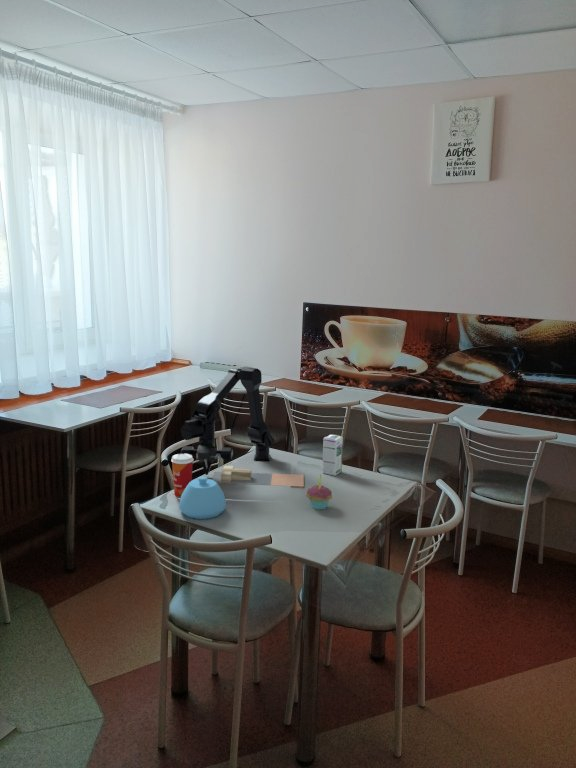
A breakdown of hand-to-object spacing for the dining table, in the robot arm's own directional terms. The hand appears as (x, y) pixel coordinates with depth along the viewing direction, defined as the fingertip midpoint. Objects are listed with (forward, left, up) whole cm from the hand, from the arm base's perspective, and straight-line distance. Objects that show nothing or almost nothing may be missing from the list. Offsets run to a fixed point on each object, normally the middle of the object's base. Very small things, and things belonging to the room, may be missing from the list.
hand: (206, 474), depth 234 cm
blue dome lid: (+30, +3, -2) cm, 30 cm away
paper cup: (+17, -6, -2) cm, 18 cm away
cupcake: (+23, +41, -2) cm, 47 cm away
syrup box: (-11, +47, -2) cm, 48 cm away
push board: (0, +19, -2) cm, 19 cm away
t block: (0, +11, -1) cm, 11 cm away
